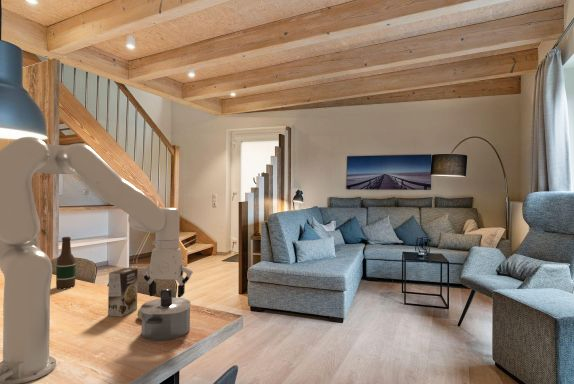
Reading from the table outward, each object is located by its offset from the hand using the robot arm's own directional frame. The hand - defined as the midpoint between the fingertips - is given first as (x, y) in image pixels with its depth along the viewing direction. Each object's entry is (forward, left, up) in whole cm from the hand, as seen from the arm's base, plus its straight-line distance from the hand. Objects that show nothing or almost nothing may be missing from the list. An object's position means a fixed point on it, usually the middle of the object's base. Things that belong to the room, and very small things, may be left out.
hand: (166, 295), depth 115 cm
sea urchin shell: (+11, +11, -12) cm, 20 cm away
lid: (0, 0, -5) cm, 5 cm away
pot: (0, 0, -12) cm, 12 cm away
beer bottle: (+44, +70, -12) cm, 84 cm away
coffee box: (+15, +24, -12) cm, 31 cm away
